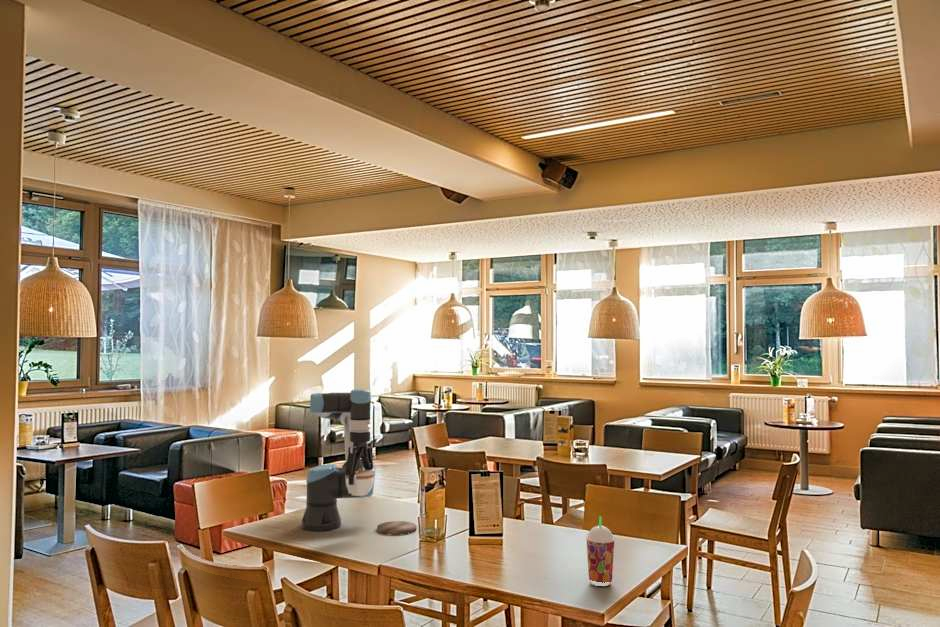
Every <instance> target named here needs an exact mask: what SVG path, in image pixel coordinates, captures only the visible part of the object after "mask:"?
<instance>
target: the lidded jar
mask: <svg viewBox="0 0 940 627" xmlns="http://www.w3.org/2000/svg"><path fill="white" fill-rule="evenodd" d="M355 475H356V494H351V495H353V496H365V495H367V494H368V493H369V492H370V490H371V489H372V487H373V482H374V483H375V478H374V473H373V472H370V471H361V469H358V471H356V473H355ZM345 481H346V487H347V489H348V488H349V476H348V475H346V474H345Z"/></svg>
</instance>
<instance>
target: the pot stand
mask: <svg viewBox="0 0 940 627" xmlns="http://www.w3.org/2000/svg"><path fill="white" fill-rule="evenodd" d="M376 527H377V528H376V530H377V532H378V533H379V532H380V533H379V534H381V533H383V534H382V535H386V534H391V535H390V536H401V535H400V534H406V535H409V534H408V533H411V534H413V533H415V532H417V529H418V528H417V524H416V523H415V522H410V521H406V520H405V521H404V520H396V521H395V520H394V521H393V520H392V521H386V522H381V523H379V524H377V526H376ZM412 532H413V533H412Z"/></svg>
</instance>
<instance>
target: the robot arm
mask: <svg viewBox="0 0 940 627" xmlns="http://www.w3.org/2000/svg"><path fill="white" fill-rule="evenodd" d="M309 397H310V398H309V406H310V407H309V411H310V412H311V414H314V415H315V416H317V417H319V418H322V419H327V420H339V421H340V423H341V425H343V433H344V434H343V435H344V456H345V462H344V463H343V464H342V467H341V468H340V467H338V465H337V464H336V463H335V464H333V463H332V464H331V463H329V464H327V463H326V464H321V465H317V466H314V467H311V468H310V469H308V470H307V473H306V507H305V509H304V513H303V516H302V520H301V528H302V530H306V531H310V530H311V531H313V532H322V531H323V532H325V531H331V530H335V529H338V528H340V527H341V526H342V519H341V515H340V511H339V509H338V499H356V498H357V499H359V498H361V499H363V498H370V497H372V495H373V494H374V486H375V481H374V482H373V487H372V489H371V490H370V492H369V493H368V494H367V495H365V496H353V495H351V494H356V475H355V473H356V471H358V469H361V471H370V472H373V473H374V479H375V476H376V468H375V467H374V462H373V461H374V459H373V453H372V443H371V442H370V441H371V432H370V430H371V424H372V423H371V403H372V402H371V401H372V397H371V391H370V390H369V389H363V388H362V389H361V388H359V389H352V390H350V392H328V393H327V392H324V393H323V392H321V393H320V392H317V393H311V394H310V396H309ZM345 474H346V475H348V476H349V488H348V489H347V487H346V481H345ZM324 530H325V531H324Z"/></svg>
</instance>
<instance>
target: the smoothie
mask: <svg viewBox="0 0 940 627" xmlns="http://www.w3.org/2000/svg"><path fill="white" fill-rule="evenodd" d="M598 519H599V520H598V521H599V522H598V523H599V524H598V525H596V526H593V527H592V528H591V529H590V530H589V532H588V535H587V536H586V551H587V552H586V553H587V567H588V568H587V569H588V580H589V579H590V580H592V581H596V582H602V583H603V582H604V583H605V582H610V583H611V582H613V570H614V553H615V551H614V550H615V537H614V535H613V533H612V531H611V530H610V529H609V528H608V527H607V526H604V525H602V516H599V518H598ZM590 580H589V581H590Z"/></svg>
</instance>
